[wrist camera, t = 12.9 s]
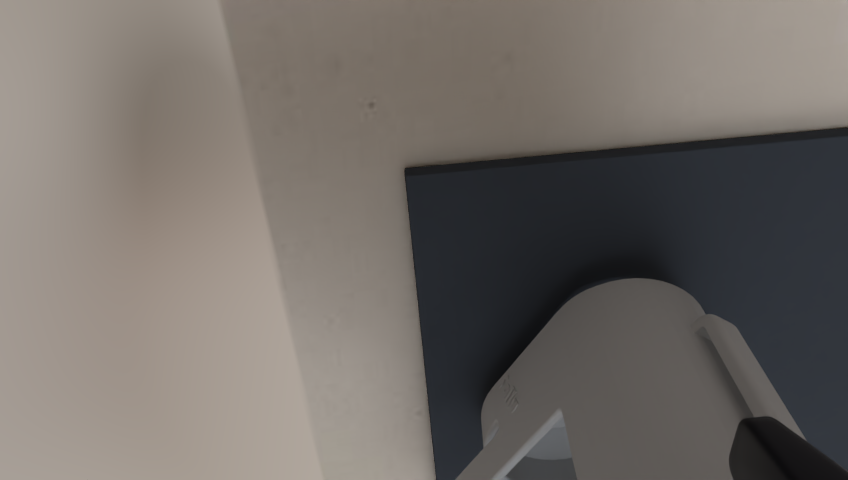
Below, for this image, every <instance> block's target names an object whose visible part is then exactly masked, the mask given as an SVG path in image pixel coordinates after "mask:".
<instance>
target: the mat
mask: <svg viewBox="0 0 848 480" xmlns="http://www.w3.org/2000/svg"><path fill="white" fill-rule="evenodd" d="M405 181H406V191H407V201H408V210H409V220H410V230H411V239H412V249H413V259H414V268H415V278H416V288H417V298H418V307H419V317H420V327H421V336H422V346H423V356H424V365H425V375H426V385H427V394H428V404H429V414H430V423H431V433H432V443H433V452H434V462H435V472H436V480H455V479H456V478H457V477H458V476H459V475H460V474H461V473H462V471H463V470H464V469H465V468H466V467H467V466H468V465H469V464H470V463H471V462H472V460H473V459H474V458H475V457H476V456H477V455H478V454H479V453H480V452H481V451H482V449H483V436H482V424H481V410H482V407H483V403H484V401H485V399H486V396H487V394H488V393H489V392H490V390H491V389H492V388H493V386H494V385H495V384H496V383H497V382H498V380H499V379H500V378H501V377H502V376H503V375H504V373H505V372H506V371H507V370H508V369H509V368H510V366H511V365H512V364H513V363H514V362H515V361H516V359H517V358H518V357H519V356H520V355H521V354H522V352H523V351H524V350H525V349H526V348H527V347H528V345H529V344H530V343H531V342H532V341H533V340H534V338H535V337H536V336H537V335H538V334H539V333H540V331H541V330H542V329H543V328H544V327H545V326H546V324H547V323H548V322H549V321H550V320H551V318H552V317H553V316H554V315H555V314H556V313H557V312H558V311H559V310H560V309H561V307H562V306H563V305H564V304H565V303H567V302H568V301H569V300H570V299H571V298H573V297H575V296H576V295H578V294H579V293H581V292H583V291H585V290H587V289H589V288H592V287H595V286H597V285H601V284H604V283H607V282H610V281H616V280H621V279H632V278H643V279H653V280H659V281H664V282H666V283H669V284H672V285H675V286H677V287H679V288H681V289H683V290H685V291H686V292H687V293H689V294H690V295H691V296H692V297H694V298H695V300H696V301H697V302H698V303H699V304H700V305H701V307H702V309H703V310H704V312H705V314H713V315H716V316H718V317H720V318H722V319H724V320H726V321H728V322H730V323H732V324H733V325H734V326H736V328H737V329H738V331H739V332H740V334H741V335H742V337H743V339H744V340H745V342H746V344H747V345H748V347H749V348H750V350H751V352H752V353H753V355H754V356H755V358H756V360H757V361H758V363H759V365H760V366H761V368H762V369H763V371H764V373H765V374H766V376H767V377H768V379H769V381H770V382H771V384H772V385H773V387H774V389H775V390H776V392H777V394H778V395H779V397H780V398H781V400H782V402H783V403H784V405H785V406H786V408H787V410H788V411H789V413H790V415H791V416H792V418H793V419H794V421H795V423H796V424H797V426H798V427H799V429H800V431H801V432H802V434H803V435H804V437H805V439H806V440H807V442H809V443H810V444H811V445H813V446H814V447H815V448H817V449H818V450H820V451H821V452H822V453H824V454H825V455H826V456H828V457H829V458H831V459H832V460H833V461H835V462H836V463H837V464H839V465H840V466H842V467H843V468H844V469H846V470H847V471H848V128H840V129H829V130H818V131H807V132H796V133H785V134H775V135H764V136H753V137H742V138H731V139H720V140H709V141H698V142H687V143H676V144H666V145H655V146H644V147H633V148H622V149H611V150H600V151H589V152H578V153H567V154H557V155H546V156H535V157H524V158H513V159H502V160H491V161H480V162H469V163H458V164H448V165H437V166H426V167H415V168H406V169H405Z"/></svg>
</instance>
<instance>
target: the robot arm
mask: <svg viewBox="0 0 848 480" xmlns="http://www.w3.org/2000/svg"><path fill="white" fill-rule="evenodd" d="M729 467H730V472H731V475H732V478H733V480H848V471H847V470H846V469H844V468H843V467H842V466H840V465H839V464H837V463H836V462H835V461H833V460H832V459H831V458H829V457H828V456H826V455H825V454H824V453H822V452H821V451H820V450H818V449H817V448H815V447H814V446H813V445H811V444H810V443H809V442H807V441H806V440H804V439H803V438H802V437H800V436H799V435H798V434H796V433H795V432H793V431H792V430H791V429H789V428H788V427H787V426H785V425H784V424H782V423H781V422H780V421H778V420H777V419H775V418H773V417H769V416H762V417H751V418H744V419H742V420H741V421H740V422H739V424H738V426H737V430H736V433H735V436H734V440H733V443H732V447H731V450H730V454H729Z"/></svg>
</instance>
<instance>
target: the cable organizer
mask: <svg viewBox="0 0 848 480" xmlns="http://www.w3.org/2000/svg"><path fill="white" fill-rule="evenodd" d="M762 416H769V417H773V418H775V419H777V420H778V421H780V422H781V423H782V424H784V425H785V426H787V427H788V428H789V429H791V430H792V431H793V432H795V433H796V434H798V435H799V436H800V437H802V438H803V439H804V440H806V439H805V437H804V435H803V434H802V432H801V431H800V429H799V427H798V426H797V424H796V423H795V421H794V419H793V418H792V416H791V415H790V413H789V411H788V410H787V408H786V406H785V405H784V403H783V402H782V400H781V398H780V397H779V395H778V394H777V392H776V390H775V389H774V387H773V385H772V384H771V382H770V381H769V379H768V377H767V376H766V374H765V373H764V371H763V369H762V368H761V366H760V365H759V363H758V361H757V360H756V358H755V356H754V355H753V353H752V352H751V350H750V348H749V347H748V345H747V344H746V342H745V340H744V339H743V337H742V335H741V334H740V332H739V331H738V329H737V328H736V326H734V325H733V324H732V323H730V322H728V321H726V320H724V319H722V318H720V317H718V316H716V315H713V314H705V312H704V310H703V309H702V307H701V305H700V304H699V303H698V302H697V301H696V300H695V298H694V297H692V296H691V295H690V294H689V293H687V292H686V291H685V290H683V289H681V288H679V287H677V286H675V285H672V284H669V283H666V282H664V281H659V280H653V279H643V278H632V279H621V280H616V281H610V282H607V283H604V284H601V285H597V286H595V287H592V288H589V289H587V290H585V291H583V292H581V293H579V294H578V295H576V296H575V297H573V298H571V299H570V300H569V301H568V302H567V303H565V304H564V305H563V306H562V307H561V309H560V310H559V311H558V312H557V313H556V314H555V315H554V316H553V317H552V318H551V320H550V321H549V322H548V323H547V324H546V326H545V327H544V328H543V329H542V330H541V331H540V333H539V334H538V335H537V336H536V337H535V338H534V340H533V341H532V342H531V343H530V344H529V345H528V347H527V348H526V349H525V350H524V351H523V352H522V354H521V355H520V356H519V357H518V358H517V359H516V361H515V362H514V363H513V364H512V365H511V366H510V368H509V369H508V370H507V371H506V372H505V373H504V375H503V376H502V377H501V378H500V379H499V380H498V382H497V383H496V384H495V385H494V386H493V388H492V389H491V390H490V392H489V393H488V394H487V396H486V399H485V401H484V403H483V407H482V410H481V424H482V436H483V449H482V451H481V452H480V453H479V454H478V455H477V456H476V457H475V458H474V459H473V460H472V462H471V463H470V464H469V465H468V466H467V467H466V468H465V469H464V470H463V471H462V473H461V474H460V475H459V476H458V477H457V478H456V479H455V480H733V478H732V475H731V472H730V467H729V454H730V450H731V447H732V443H733V440H734V436H735V433H736V430H737V426H738V424H739V422H740V421H741V420H742V419H744V418H751V417H762ZM806 441H807V440H806Z"/></svg>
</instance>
